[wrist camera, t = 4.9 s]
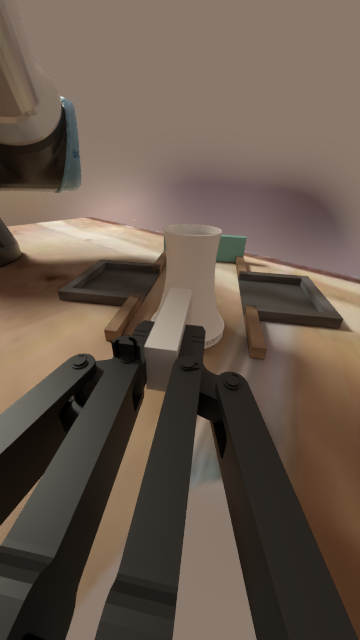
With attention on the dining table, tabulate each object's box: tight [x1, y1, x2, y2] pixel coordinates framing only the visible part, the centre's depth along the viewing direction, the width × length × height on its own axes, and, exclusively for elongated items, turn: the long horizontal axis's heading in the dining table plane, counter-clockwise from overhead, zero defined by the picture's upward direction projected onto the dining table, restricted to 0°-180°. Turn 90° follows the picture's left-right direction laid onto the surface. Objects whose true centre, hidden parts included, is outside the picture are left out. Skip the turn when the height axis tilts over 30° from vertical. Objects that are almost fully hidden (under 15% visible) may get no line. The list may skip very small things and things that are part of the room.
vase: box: [151, 224, 224, 349], centre depth 22 cm, size 8×8×10 cm
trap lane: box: [58, 251, 343, 359], centre depth 33 cm, size 27×33×1 cm
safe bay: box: [164, 235, 246, 262], centre depth 44 cm, size 1×15×4 cm, turn 81°
